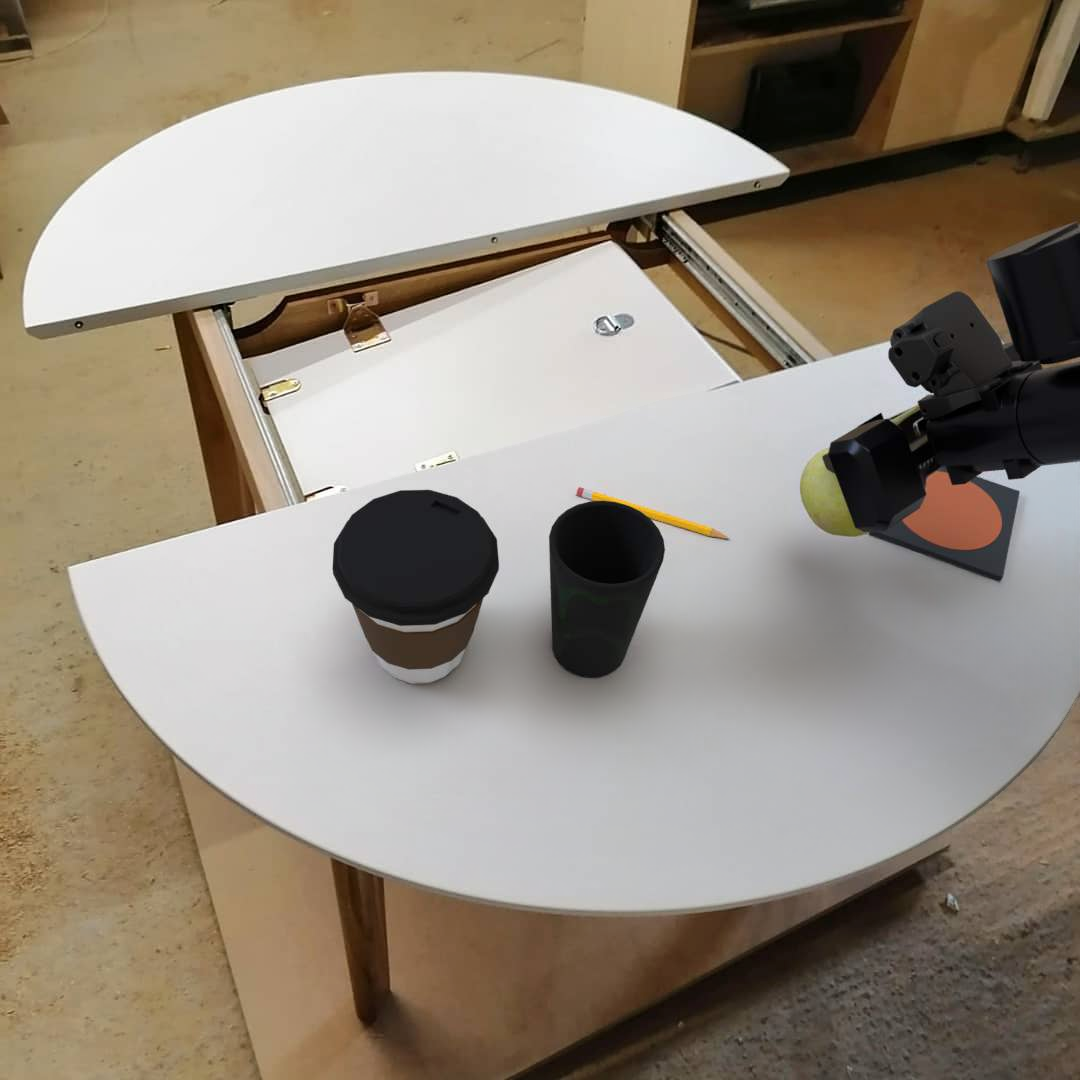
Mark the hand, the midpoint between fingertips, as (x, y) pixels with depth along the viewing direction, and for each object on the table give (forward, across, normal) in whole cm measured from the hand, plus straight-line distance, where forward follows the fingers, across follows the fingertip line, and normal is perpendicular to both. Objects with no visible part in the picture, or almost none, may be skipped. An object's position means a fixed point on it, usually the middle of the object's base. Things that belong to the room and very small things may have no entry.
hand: (851, 446), depth 73 cm
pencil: (+16, +8, +1) cm, 18 cm away
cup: (+11, +21, +6) cm, 24 cm away
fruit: (+4, 0, +6) cm, 7 cm away
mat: (+6, -13, +11) cm, 19 cm away
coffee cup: (+16, +31, +1) cm, 35 cm away
